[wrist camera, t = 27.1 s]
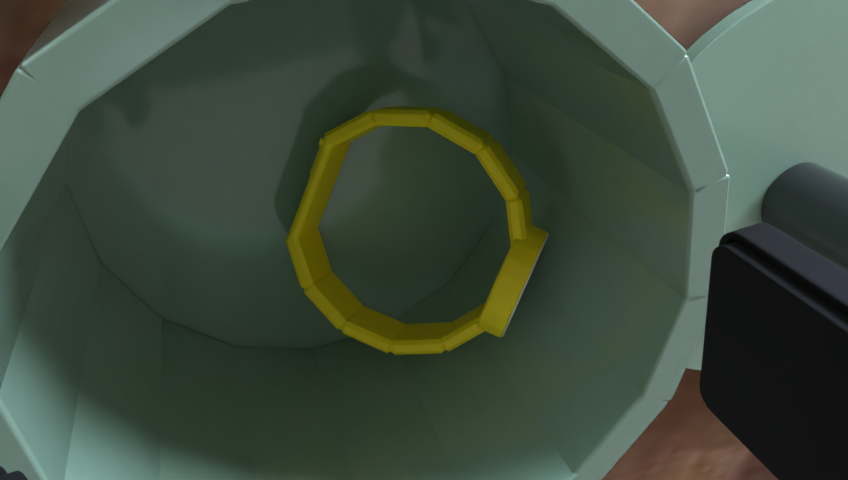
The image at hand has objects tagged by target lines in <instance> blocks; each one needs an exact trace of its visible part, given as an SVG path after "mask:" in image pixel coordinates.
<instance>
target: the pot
mask: <svg viewBox="0 0 848 480" xmlns="http://www.w3.org/2000/svg"><path fill="white" fill-rule="evenodd" d="M686 53H687V51H686V49H685V48H684V47H683V46H682V45H681V44H680V43H679V42H677V41H676V40H675V39H674V38H673V37H672V36H671V35H670V34H669V33H668V32H667V31H666V30H665V29H664V28H663V27H662V26H660V25H659V24H658V23H657V22H656V21H655V20H654V19H653V18H652V17H651V16H650V15H649V14H648V13H647V12H646V11H645V10H643V9H642V8H641V7H640V6H639V5H638V4H637V3H636V2H635V1H634V0H66V1H65V2H64V4H63V5H62V6H61V8H60V9H59V10H58V12H57V13H56V14H55V16H54V17H53V19H52V20H51V21H50V23H49V24H48V25H47V27H46V28H45V29H44V31H43V32H42V34H41V35H40V36H39V38H38V39H37V40H36V42H35V43H34V44H33V46H32V47H31V48H30V50H29V51H28V53H27V54H26V55H25V57H24V58H23V59H22V61H21V62H20V63H19V65H18V66H17V68H16V69H15V70H14V72H13V74H12V76H11V78H10V80H9V82H8V84H7V85H6V87H5V89H4V91H3V93H2V95H1V97H0V466H1V467H3V468H4V469H5V471H6V472H7V473H11V472H14V471H20V472H22V473H23V474H24V475H25V476H26V478H27V479H28V480H602V479H603V478H604V477H605V476H606V475H607V473H608V472H609V471H610V470H611V469H612V468H613V466H614V465H615V464H616V463H617V462H618V461H619V460H620V458H621V457H622V456H623V455H624V454H625V453H626V451H627V450H628V449H629V448H630V447H631V446H632V445H633V443H634V442H635V441H636V440H637V439H638V438H639V436H640V435H641V434H642V433H643V432H644V431H645V429H646V428H647V427H648V426H649V425H650V424H651V423H652V421H653V420H654V419H655V418H656V417H657V416H658V414H659V413H660V412H661V411H662V410H663V409H664V408H665V406H666V405H667V404H668V401H670V400H671V399H672V398H673V396H674V393H675V391H676V389H677V387H678V385H679V383H680V380H681V378H682V376H683V374H684V372H685V369H686V367H687V365H688V363H689V361H690V359H691V356H692V354H693V352H694V350H695V348H696V346H697V343H698V341H699V339H700V337H701V335H702V332H703V330H704V328H705V323H706V312H707V301H708V290H709V279H710V268H711V258H712V253H713V251H714V249H715V248H716V247H718V246H719V242H720V239H721V238H722V236H723V235H725V230H726V219H727V207H728V196H729V185H730V176H729V174H728V168H727V165H726V162H725V159H724V157H723V154H722V151H721V148H720V145H719V142H718V139H717V136H716V134H715V131H714V128H713V125H712V122H711V119H710V116H709V113H708V110H707V108H706V105H705V102H704V99H703V96H702V93H701V90H700V87H699V85H698V82H697V79H696V76H695V73H694V70H693V67H692V64H691V61H690V59H689V57H688V55H687V54H686ZM390 106H404V107H437V108H441V109H442V110H443V111H446V110H449V111H451V112H453V113H455V114H456V115H458V116H460V117H462V118H463V119H465V120H467V121H469V122H470V123H472V124H474V125H476V126H477V127H479V128H481V129H483V130H484V131H486V132H488V133H490V134H491V135H492V138H493V140H497V141H499V143H500V144H501V146H502V147H503V149H504V150H505V152H506V153H507V155H508V156H509V158H510V159H511V161H512V162H513V164H514V165H515V167H516V169H517V170H518V172H519V173H520V175H521V176H522V178H523V179H524V181H525V182H526V185H525V188H526V189H527V190H528V191H529V196H530V205H531V214H532V223H533V226H535V227H538V228H540V229H542V230H544V231H547V232H548V233H549V235H548V238H547V240H546V242H545V244H544V247H543V249H542V251H541V253H540V256H539V258H538V260H537V262H536V265H535V267H534V269H533V271H532V274H531V276H530V278H529V280H528V283H527V285H526V287H525V289H524V291H523V294H522V296H521V298H520V300H519V303H518V305H517V307H516V309H515V311H514V314H513V316H512V318H511V320H510V323H509V325H508V327H507V329H506V331H505V334H504V336H503V337H497V336H495V335H492V334H490V333H488V332H486V331H484V332H482V333H481V334H479V335H477V336H475V337H474V338H472V339H470V340H468V341H467V342H465V343H463V344H461V345H459V346H458V347H456V348H454V349H452V350H451V351H447V350H444V351H443V352H442V353H436V354H404V355H395V354H393V353H392V352H388V353H385V352H383V351H381V350H378V349H376V348H374V347H372V346H369V345H367V344H365V343H363V342H360V341H358V340H356V339H354V338H351V337H349V336H347V335H345V334H343V332H342V330H340V329H336V328H335V327H334V326H333V325H332V323H331V322H330V321H329V320H328V319H327V318H326V317H325V316H324V315H323V313H322V312H321V311H320V310H319V309H318V308H317V307H316V306H315V305H314V304H313V302H312V301H311V300H310V299H309V298H308V297H307V296H306V295H305V294H304V288H302V287H301V286H300V284H299V281H298V278H297V275H296V272H295V269H294V266H293V263H292V260H291V257H290V254H289V251H288V248H287V245H286V242H285V240H286V238H287V236H288V234H289V231H290V228H291V226H292V223H293V220H294V218H295V215H296V212H297V210H298V207H299V204H300V202H301V199H302V196H303V194H304V191H305V188H306V186H307V183H308V180H309V178H310V171H311V168H312V166H313V163H314V160H315V158H316V155H317V152H318V150H319V147H320V145H319V142H320V138H323V137H324V134H325V133H326V132H328V131H330V130H332V129H334V128H335V127H337V126H339V125H341V124H343V123H345V122H347V121H349V120H351V119H353V118H355V117H357V116H359V115H361V114H363V113H364V112H366V111H370V110H375V109H379V108H384V107H390ZM506 201H507V200H505V199H504V198H503V196H502V195H501V193H500V192H499V190H498V189H497V187H496V186H495V184H494V183H493V181H492V180H491V178H490V177H489V175H488V173H487V172H486V170H485V169H484V167H483V166H482V164H481V163H480V161H479V160H478V158H477V157H476V154H473V153H471V152H470V151H468V150H466V149H465V148H463V147H461V146H459V145H458V144H456V143H454V142H452V141H451V140H449V139H447V138H445V137H444V136H442V135H440V134H438V133H437V132H435V131H433V130H431V129H430V128H428V127H409V126H381V127H379V128H377V129H375V130H373V131H371V132H369V133H368V134H366V135H364V136H362V137H360V138H358V139H356V140H354V141H352V142H351V143H350V146H349V148H348V151H347V154H346V156H345V159H344V161H343V164H342V167H341V169H340V172H339V174H338V177H337V179H336V182H335V185H334V187H333V190H332V192H331V195H330V197H329V200H328V203H327V205H326V208H325V210H324V213H323V215H322V218H321V221H320V223H319V226H318V229H319V232H320V236H321V239H322V242H323V245H324V248H325V251H326V254H327V257H328V260H329V263H330V266H331V269H332V272H333V273H334V274H335V275H336V276H337V277H338V278H339V279H340V280H341V281H342V283H343V284H344V285H345V286H346V287H347V288H348V289H349V290H350V291H351V293H352V294H353V295H354V296H355V297H356V298H357V299H358V300H359V301H360V302H361V304H362V305H363V306H365V307H368V308H370V309H372V310H375V311H377V312H379V313H381V314H384V315H386V316H388V317H391V318H393V319H395V320H398V321H400V322H402V323H405V324H420V323H443V322H451V323H452V322H453V321H455V320H456V319H458V318H460V317H461V316H463V315H465V314H467V313H468V312H470V311H472V310H473V309H475V308H477V307H479V306H480V305H482V304H484V303H485V302H486V300H487V298H488V296H489V293H490V291H491V289H492V286H493V284H494V282H495V280H496V277H497V275H498V273H499V271H500V269H501V266H502V264H503V262H504V260H505V258H506V256H507V254H508V252H509V249H510V247H511V243H510V234H509V226H508V217H507V209H506ZM503 333H504V332H503Z"/></svg>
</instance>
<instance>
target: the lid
mask: <svg viewBox="0 0 848 480" xmlns="http://www.w3.org/2000/svg"><path fill="white" fill-rule="evenodd" d="M686 51H687V53H686V54H687V55H688V57H689V59H690V61H691V64H692V67H693V70H694V73H695V76H696V79H697V82H698V85H699V87H700V90H701V93H702V96H703V99H704V102H705V105H706V108H707V110H708V113H709V116H710V119H711V122H712V125H713V128H714V131H715V134H716V136H717V139H718V142H719V145H720V148H721V151H722V154H723V157H724V159H725V162H726V165H727V168H728V174H729V176H730V185H729V196H728V207H727V219H726V230H725V234H727V233H729V232H732V231H735V230H738V229H741V228H745V227H748V226H751V225H754V224H757V223H768V224H770V225H773V226H774V227H776V228H777V229H779V230H781V231H782V232H784V233H786V234H787V235H789V236H791V237H792V238H794V239H795V240H797V241H799V242H800V243H802V244H804V245H805V246H807V247H809V248H810V249H812V250H813V251H815V252H817V253H818V254H820V255H822V256H823V257H825V258H827V259H828V260H830V261H831V262H833V263H835V264H836V265H838V266H840V267H841V268H843V269H845V270H846V271H848V0H751V1H750V2H748V3H747V4H745V5H743V6H742V7H740V8H738V9H737V10H735V11H734V12H732V13H730V14H729V15H727V16H726V17H725V18H723V19H722V20H721V21H720V22H718V23H717V24H716V25H715V26H713V27H712V28H711V29H709V30H708V31H707V32H706V33H704V34H703V35H702V36H701V37H700V38H699V39H698V40H697V41H696V42H695V43H694V44H693V45H692V46H691V47H689V48H688V49H687V50H686ZM704 334H705V328H704V330H703V332H702V335H701V337H700V339H699V341H698V343H697V346H696V348H695V350H694V352H693V354H692V356H691V359H690V361H689V363H688V365H687V367H686V368H688V369H692V370H701V366H702V355H703V345H704Z"/></svg>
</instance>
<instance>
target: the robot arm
mask: <svg viewBox="0 0 848 480" xmlns="http://www.w3.org/2000/svg"><path fill="white" fill-rule="evenodd" d="M700 391H701V395H702V398H703V400H704V402H705V404H706V405H707V407H708V408H709V409H710V411H711V412H712V413H713V414H714V415H715V416H716V417H717V418H718V419H719V420H720V421H721V422H722V423H723V424H724V425H725V426H726V427H727V428H728V429H729V430H730V431H731V432H732V433H733V434H734V435H735V436H736V437H737V438H738V439H739V440H740V441H741V442H742V443H743V444H744V445H745V446H746V447H747V448H748V449H749V450H750V451H751V452H752V453H753V454H754V455H755V456H756V457H757V458H758V459H759V460H760V461H761V462H762V463H763V464H764V465H765V466H766V467H767V468H768V469H769V470H770V471H771V473H772V474H773V475H774V476H775V477H776V478H777V479H778V480H848V271H846V270H845V269H843V268H841V267H840V266H838V265H836V264H835V263H833V262H831V261H830V260H828V259H827V258H825V257H823V256H822V255H820V254H818V253H817V252H815V251H813V250H812V249H810V248H809V247H807V246H805V245H804V244H802V243H800V242H799V241H797V240H795V239H794V238H792V237H791V236H789V235H787V234H786V233H784V232H782V231H781V230H779V229H777V228H776V227H774V226H773V225H770V224H768V223H757V224H754V225H751V226H748V227H745V228H741V229H738V230H735V231H732V232H729V233H727V234H725V235H723V236H722V238H721V239H720V242H719V246H718V247H716V248H715V249H714V251H713V253H712V258H711V268H710V279H709V290H708V301H707V312H706V323H705V334H704V345H703V355H702V366H701V377H700ZM0 480H28V479H27V478H26V476H25V475H24V474H23V473H22V472H20V471H14V472H11V473H7V472H6V471H5V469H4V468H3V467H1V466H0Z"/></svg>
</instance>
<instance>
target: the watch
mask: <svg viewBox="0 0 848 480" xmlns="http://www.w3.org/2000/svg"><path fill="white" fill-rule="evenodd" d="M381 126H409V127H428V128H430V129H431V130H433V131H435V132H437V133H438V134H440V135H442V136H444V137H445V138H447V139H449V140H451V141H452V142H454V143H456V144H458V145H459V146H461V147H463V148H465V149H466V150H468V151H470V152H471V153H473V154H476V157H477V158H478V160H479V161H480V163H481V164H482V166H483V167H484V169H485V170H486V172H487V173H488V175H489V177H490V178H491V180H492V181H493V183H494V184H495V186H496V187H497V189H498V190H499V192H500V193H501V195H502V196H503V198H504V199H505V200H507V201H506V209H507V217H508V226H509V234H510V243H511V247H510V249H509V252H508V254H507V256H506V258H505V260H504V262H503V264H502V266H501V269H500V271H499V273H498V275H497V277H496V280H495V282H494V284H493V286H492V289H491V291H490V293H489V296H488V298H487V300H486V302H485V303H484V304H482V305H480V306H479V307H477V308H475V309H473V310H472V311H470V312H468V313H467V314H465V315H463V316H461V317H460V318H458V319H456V320H455V321H453V322H452V323H451V322H443V323H420V324H405V323H402V322H400V321H398V320H395V319H393V318H391V317H388V316H386V315H384V314H381V313H379V312H377V311H375V310H372V309H370V308H368V307H365V306H363V305H362V304H361V302H360V301H359V300H358V299H357V298H356V297H355V296H354V295H353V294H352V293H351V291H350V290H349V289H348V288H347V287H346V286H345V285H344V284H343V283H342V281H341V280H340V279H339V278H338V277H337V276H336V275H335V274H334V273H333V272H332V269H331V266H330V263H329V260H328V257H327V254H326V251H325V248H324V245H323V242H322V239H321V236H320V232H319V229H318V226H319V223H320V221H321V218H322V215H323V213H324V210H325V208H326V205H327V203H328V200H329V197H330V195H331V192H332V190H333V187H334V185H335V182H336V179H337V177H338V174H339V172H340V169H341V167H342V164H343V161H344V159H345V156H346V154H347V151H348V148H349V146H350V143H351V142H352V141H354V140H356V139H358V138H360V137H362V136H364V135H366V134H368V133H369V132H371V131H373V130H375V129H377V128H379V127H381ZM319 145H320V147H319V150H318V152H317V155H316V158H315V160H314V163H313V166H312V168H311V171H310V178H309V180H308V183H307V186H306V188H305V191H304V194H303V196H302V199H301V202H300V204H299V207H298V210H297V212H296V215H295V218H294V220H293V223H292V226H291V228H290V231H289V234H288V236H287V238H286V240H285V242H286V245H287V248H288V251H289V254H290V257H291V260H292V263H293V266H294V269H295V272H296V275H297V278H298V281H299V284H300V286H301V287H302V288H304V294H305V295H306V296H307V297H308V298H309V299H310V300H311V301H312V302H313V304H314V305H315V306H316V307H317V308H318V309H319V310H320V311H321V312H322V313H323V315H324V316H325V317H326V318H327V319H328V320H329V321H330V322H331V323H332V325H333V326H334V327H335V328H336V329H340V330H342V332H343V334H345V335H347V336H349V337H351V338H354V339H356V340H358V341H360V342H363V343H365V344H367V345H369V346H372V347H374V348H376V349H378V350H381V351H383V352H385V353H388V352H392V353H393V354H395V355H404V354H436V353H442V352H443V351H444V350H447V351H451V350H452V349H454V348H456V347H458V346H459V345H461V344H463V343H465V342H467V341H468V340H470V339H472V338H474V337H475V336H477V335H479V334H481V333H482V332H484V331H486V332H488V333H490V334H492V335H495V336H497V337H503V336H504V334H505V331H506V329H507V327H508V325H509V323H510V320H511V318H512V316H513V314H514V311H515V309H516V307H517V305H518V303H519V300H520V298H521V296H522V294H523V291H524V289H525V287H526V285H527V283H528V280H529V278H530V276H531V274H532V271H533V269H534V267H535V265H536V262H537V260H538V258H539V256H540V253H541V251H542V249H543V247H544V244H545V242H546V240H547V238H548V235H549V233H548V232H547V231H544V230H542V229H540V228H538V227H535V226H533V223H532V214H531V205H530V196H529V191H528V190H527V189H526V188H525V185H526V182H525V181H524V179H523V178H522V176H521V175H520V173H519V172H518V170H517V169H516V167H515V165H514V164H513V162H512V161H511V159H510V158H509V156H508V155H507V153H506V152H505V150H504V149H503V147H502V146H501V144H500V143H499V141H497V140H493V138H492V135H491V134H490V133H488V132H486V131H484V130H483V129H481V128H479V127H477V126H476V125H474V124H472V123H470V122H469V121H467V120H465V119H463V118H462V117H460V116H458V115H456V114H455V113H453V112H451V111H449V110H446V111H443V110H442V109H441V108H437V107H404V106H390V107H384V108H379V109H375V110H370V111H366V112H364V113H363V114H361V115H359V116H357V117H355V118H353V119H351V120H349V121H347V122H345V123H343V124H341V125H339V126H337V127H335V128H334V129H332V130H330V131H328V132H326V133H325V134H324V137H323V138H320V142H319ZM503 332H504V333H503Z"/></svg>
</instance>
